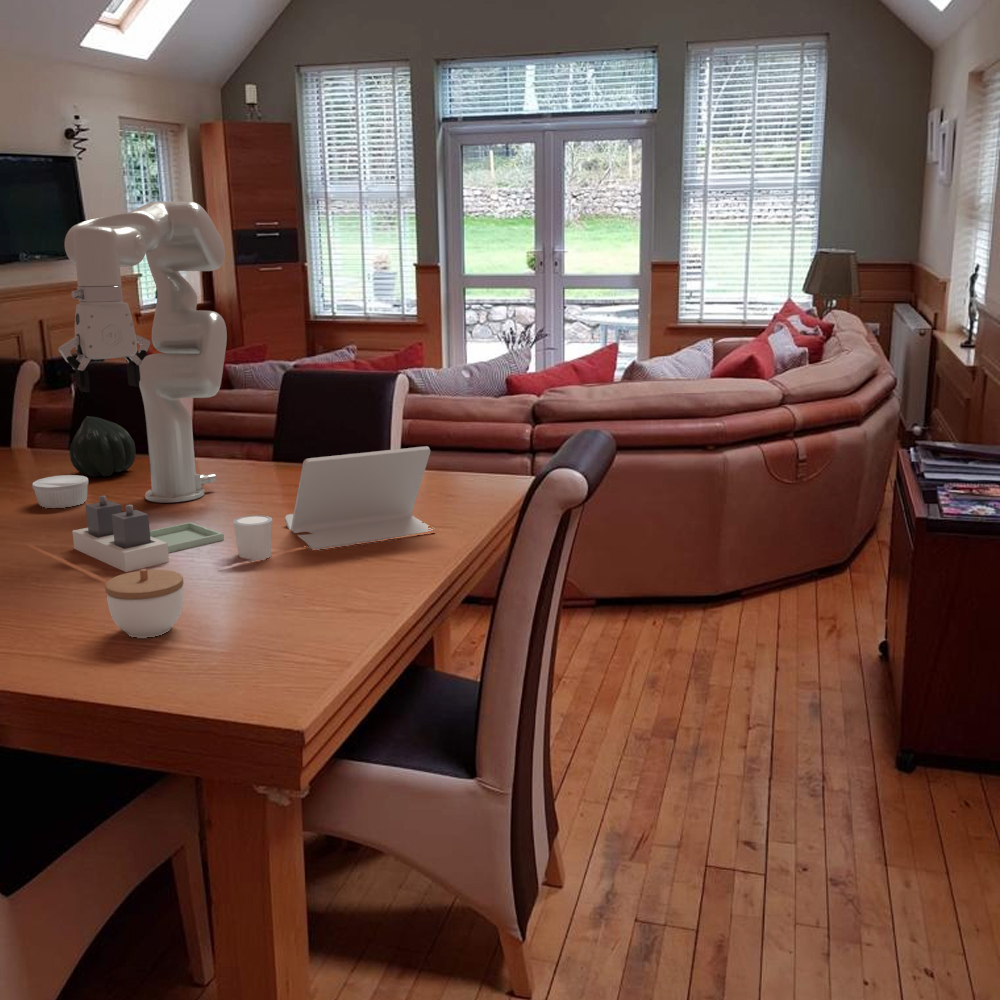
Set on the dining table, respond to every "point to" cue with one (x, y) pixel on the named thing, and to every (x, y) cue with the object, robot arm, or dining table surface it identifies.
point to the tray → (186, 536)
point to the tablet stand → (359, 497)
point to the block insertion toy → (102, 545)
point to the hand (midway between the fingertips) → (109, 388)
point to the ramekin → (61, 491)
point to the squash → (101, 448)
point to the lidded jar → (145, 601)
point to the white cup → (253, 537)
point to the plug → (131, 528)
